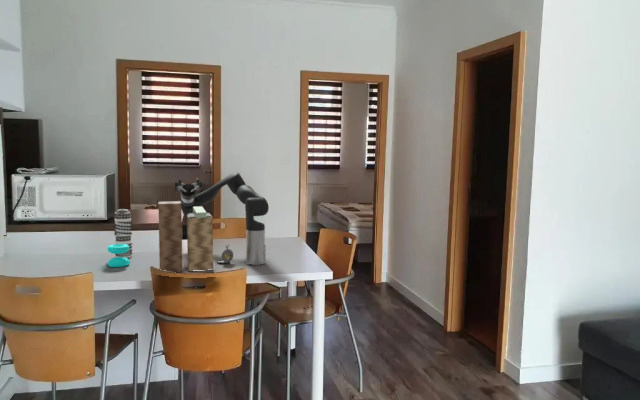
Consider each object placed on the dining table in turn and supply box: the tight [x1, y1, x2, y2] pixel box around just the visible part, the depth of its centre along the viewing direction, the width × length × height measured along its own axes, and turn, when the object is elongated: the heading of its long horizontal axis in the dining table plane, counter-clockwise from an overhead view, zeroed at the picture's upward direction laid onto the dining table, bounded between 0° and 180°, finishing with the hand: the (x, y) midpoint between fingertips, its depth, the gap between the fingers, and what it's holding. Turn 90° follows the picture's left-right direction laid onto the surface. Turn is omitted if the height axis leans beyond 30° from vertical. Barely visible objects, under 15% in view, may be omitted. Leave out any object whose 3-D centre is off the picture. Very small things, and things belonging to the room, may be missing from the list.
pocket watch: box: [216, 243, 234, 264], centre depth 250 cm, size 8×8×10 cm
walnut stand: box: [158, 200, 183, 273], centre depth 234 cm, size 10×10×32 cm
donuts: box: [106, 243, 131, 268], centre depth 242 cm, size 10×10×10 cm
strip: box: [193, 206, 207, 218], centre depth 238 cm, size 4×24×2 cm, turn 18°
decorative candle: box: [113, 208, 133, 259], centre depth 261 cm, size 9×9×25 cm
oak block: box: [186, 212, 214, 272], centre depth 238 cm, size 11×12×26 cm
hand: (188, 180), depth 259 cm, fingers open, 8 cm apart
